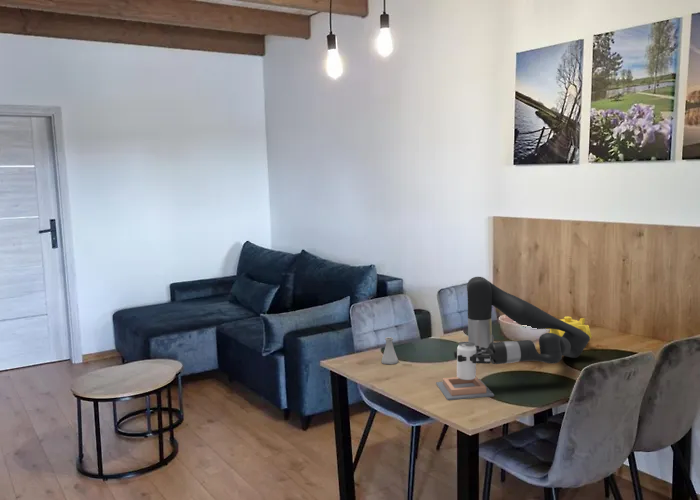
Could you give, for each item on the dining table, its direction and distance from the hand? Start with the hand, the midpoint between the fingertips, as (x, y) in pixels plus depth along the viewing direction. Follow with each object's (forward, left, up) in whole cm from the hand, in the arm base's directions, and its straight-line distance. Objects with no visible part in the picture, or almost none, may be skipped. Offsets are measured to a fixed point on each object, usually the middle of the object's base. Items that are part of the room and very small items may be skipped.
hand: (456, 356), depth 208 cm
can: (-3, +2, -8) cm, 8 cm away
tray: (-2, +1, -12) cm, 12 cm away
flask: (-3, -41, -12) cm, 43 cm away
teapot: (-73, -7, -12) cm, 75 cm away
